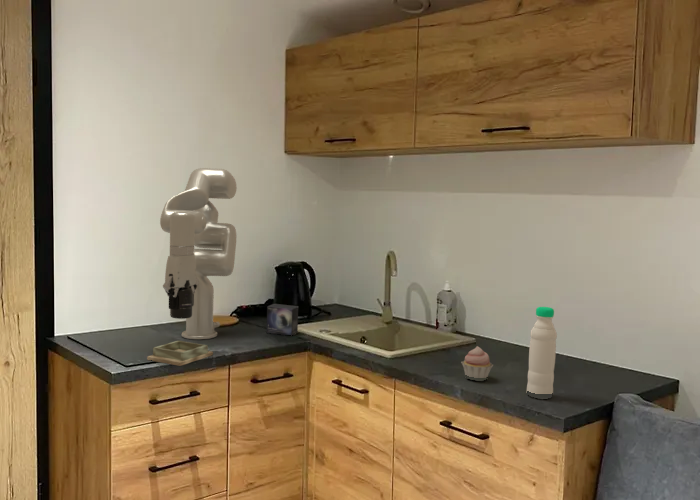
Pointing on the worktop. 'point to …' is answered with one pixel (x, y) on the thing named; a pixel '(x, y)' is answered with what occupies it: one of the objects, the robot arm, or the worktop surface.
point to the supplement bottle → (183, 302)
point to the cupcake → (477, 363)
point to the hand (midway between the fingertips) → (181, 307)
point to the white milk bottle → (542, 353)
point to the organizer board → (179, 353)
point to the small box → (282, 319)
